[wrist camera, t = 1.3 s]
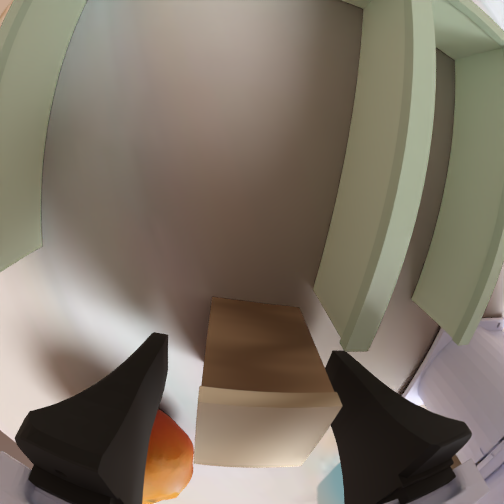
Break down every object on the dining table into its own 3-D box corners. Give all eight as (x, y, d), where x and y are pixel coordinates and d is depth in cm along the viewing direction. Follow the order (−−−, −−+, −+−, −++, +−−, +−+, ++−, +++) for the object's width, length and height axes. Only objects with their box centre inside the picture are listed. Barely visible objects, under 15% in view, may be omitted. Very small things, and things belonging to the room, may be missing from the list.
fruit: (54, 365, 11) (82, 497, 6) (171, 367, 16) (230, 469, 11) (62, 427, 13) (91, 519, 8) (150, 423, 19) (191, 502, 13)
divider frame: (462, 56, 8) (515, 44, 4) (420, 300, 13) (468, 344, 9) (88, -20, 6) (52, -57, 2) (32, 244, 10) (-25, 278, 6)
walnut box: (300, 306, 12) (342, 405, 7) (280, 370, 14) (300, 465, 8) (211, 295, 12) (197, 401, 6) (203, 363, 13) (193, 463, 7)
